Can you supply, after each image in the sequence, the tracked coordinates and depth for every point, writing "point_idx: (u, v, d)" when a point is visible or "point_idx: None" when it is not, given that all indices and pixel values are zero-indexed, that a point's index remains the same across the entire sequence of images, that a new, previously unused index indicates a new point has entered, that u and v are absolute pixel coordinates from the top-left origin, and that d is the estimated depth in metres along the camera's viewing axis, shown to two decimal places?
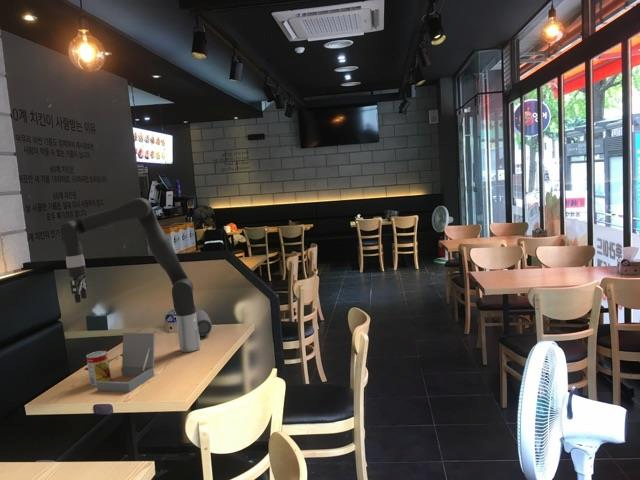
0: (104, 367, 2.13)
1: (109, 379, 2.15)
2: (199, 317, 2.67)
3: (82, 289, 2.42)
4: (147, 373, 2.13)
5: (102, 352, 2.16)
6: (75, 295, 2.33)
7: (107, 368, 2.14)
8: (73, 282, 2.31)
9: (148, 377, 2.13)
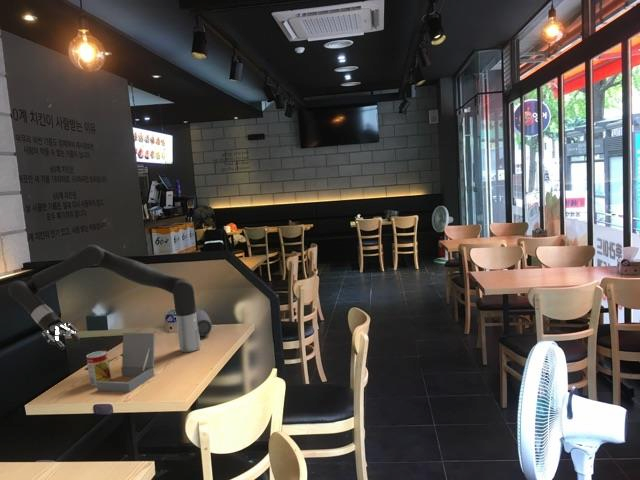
0: (104, 367, 2.13)
1: (109, 379, 2.15)
2: (199, 317, 2.67)
3: (71, 335, 2.22)
4: (147, 373, 2.13)
5: (102, 352, 2.16)
6: (55, 344, 2.13)
7: (107, 368, 2.14)
8: (43, 333, 2.12)
9: (148, 377, 2.13)
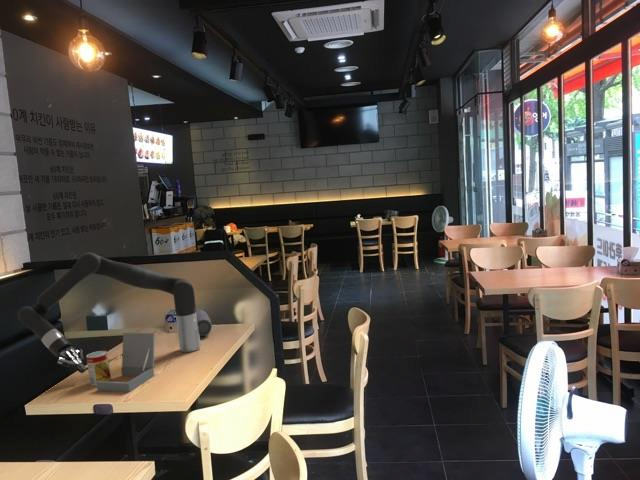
0: (104, 367, 2.13)
1: (109, 379, 2.15)
2: (199, 317, 2.67)
3: None
4: (147, 373, 2.13)
5: (102, 352, 2.16)
6: (75, 367, 2.17)
7: (107, 368, 2.14)
8: (60, 362, 2.13)
9: (148, 377, 2.13)
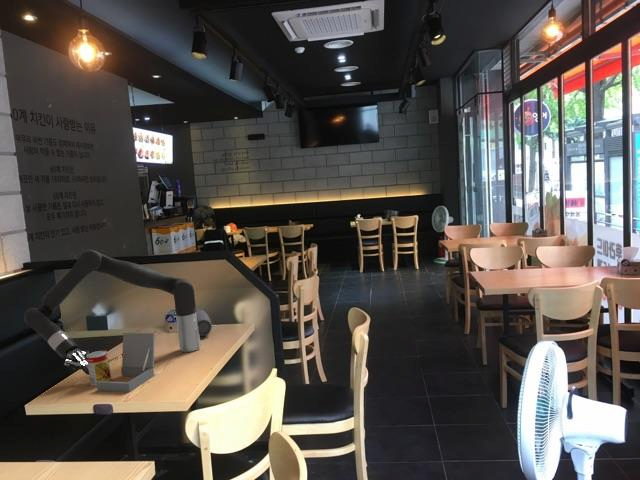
0: (104, 367, 2.13)
1: (109, 379, 2.15)
2: (199, 317, 2.67)
3: None
4: (147, 373, 2.13)
5: (102, 352, 2.16)
6: (82, 369, 2.16)
7: (107, 368, 2.14)
8: (66, 364, 2.12)
9: (148, 377, 2.13)
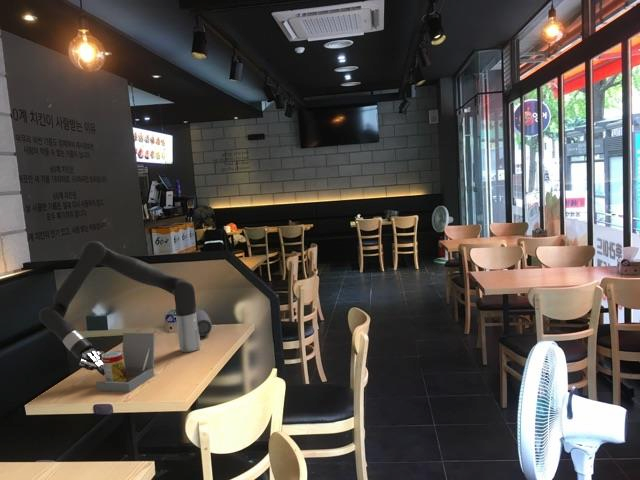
0: (121, 367, 2.11)
1: (125, 379, 2.13)
2: (199, 317, 2.67)
3: None
4: (147, 373, 2.13)
5: (117, 352, 2.14)
6: (97, 369, 2.14)
7: (123, 368, 2.12)
8: (82, 364, 2.10)
9: (148, 377, 2.13)
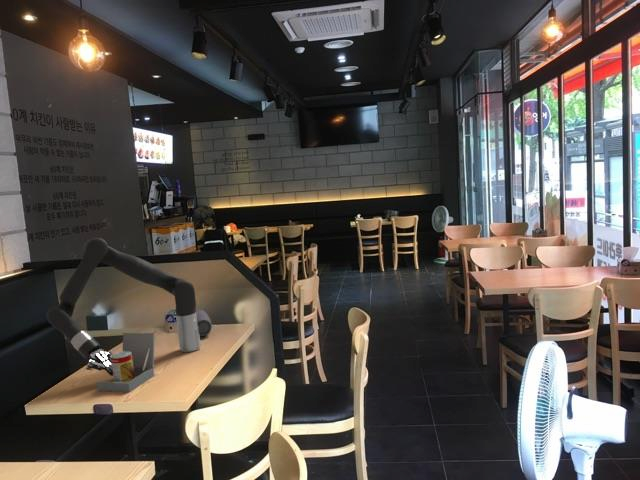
0: (129, 367, 2.10)
1: None
2: (199, 317, 2.67)
3: None
4: (147, 373, 2.13)
5: (126, 352, 2.13)
6: (105, 369, 2.12)
7: (132, 368, 2.11)
8: (90, 364, 2.08)
9: (148, 377, 2.13)
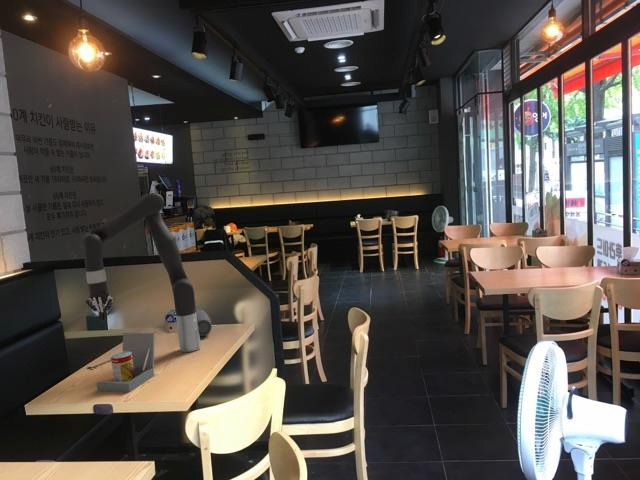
0: (129, 367, 2.10)
1: None
2: (199, 317, 2.67)
3: None
4: (147, 373, 2.13)
5: (126, 352, 2.13)
6: (104, 312, 2.24)
7: (132, 368, 2.11)
8: (113, 300, 2.23)
9: (148, 377, 2.13)
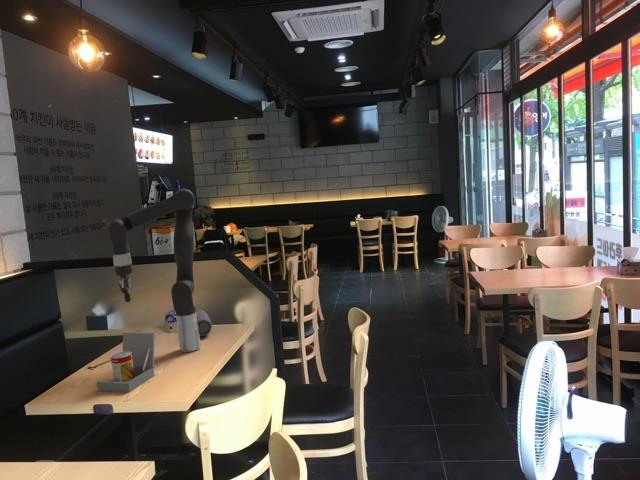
0: (129, 367, 2.10)
1: None
2: (199, 317, 2.67)
3: None
4: (147, 373, 2.13)
5: (126, 352, 2.13)
6: None
7: (132, 368, 2.11)
8: None
9: (148, 377, 2.13)
